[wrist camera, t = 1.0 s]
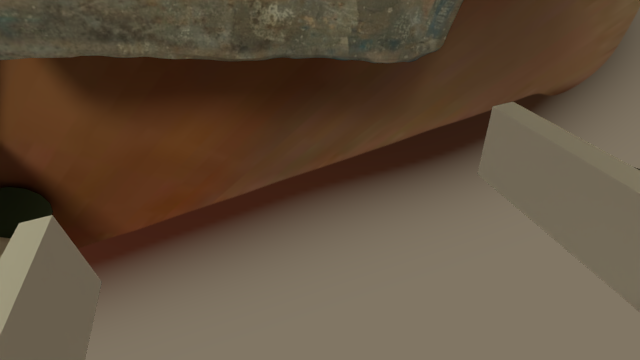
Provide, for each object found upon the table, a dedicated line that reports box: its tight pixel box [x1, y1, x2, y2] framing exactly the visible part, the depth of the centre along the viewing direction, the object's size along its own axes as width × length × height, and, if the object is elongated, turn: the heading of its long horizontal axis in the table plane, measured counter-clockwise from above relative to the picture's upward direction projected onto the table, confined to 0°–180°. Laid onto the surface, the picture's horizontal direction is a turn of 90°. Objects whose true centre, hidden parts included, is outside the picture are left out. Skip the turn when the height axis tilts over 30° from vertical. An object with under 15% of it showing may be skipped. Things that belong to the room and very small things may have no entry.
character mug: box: [0, 187, 53, 258], centre depth 34 cm, size 11×7×13 cm, turn 59°
